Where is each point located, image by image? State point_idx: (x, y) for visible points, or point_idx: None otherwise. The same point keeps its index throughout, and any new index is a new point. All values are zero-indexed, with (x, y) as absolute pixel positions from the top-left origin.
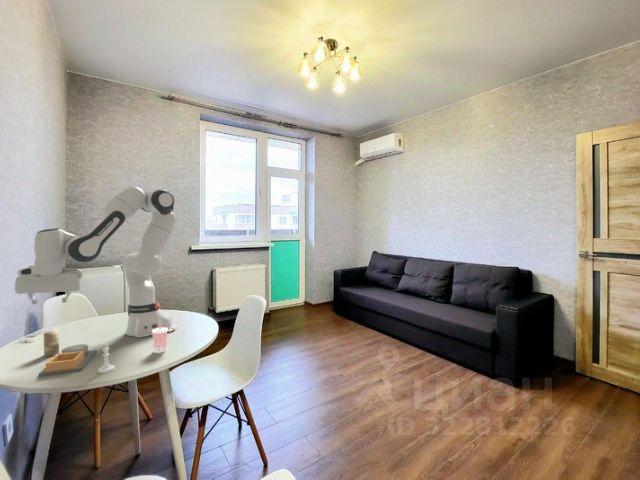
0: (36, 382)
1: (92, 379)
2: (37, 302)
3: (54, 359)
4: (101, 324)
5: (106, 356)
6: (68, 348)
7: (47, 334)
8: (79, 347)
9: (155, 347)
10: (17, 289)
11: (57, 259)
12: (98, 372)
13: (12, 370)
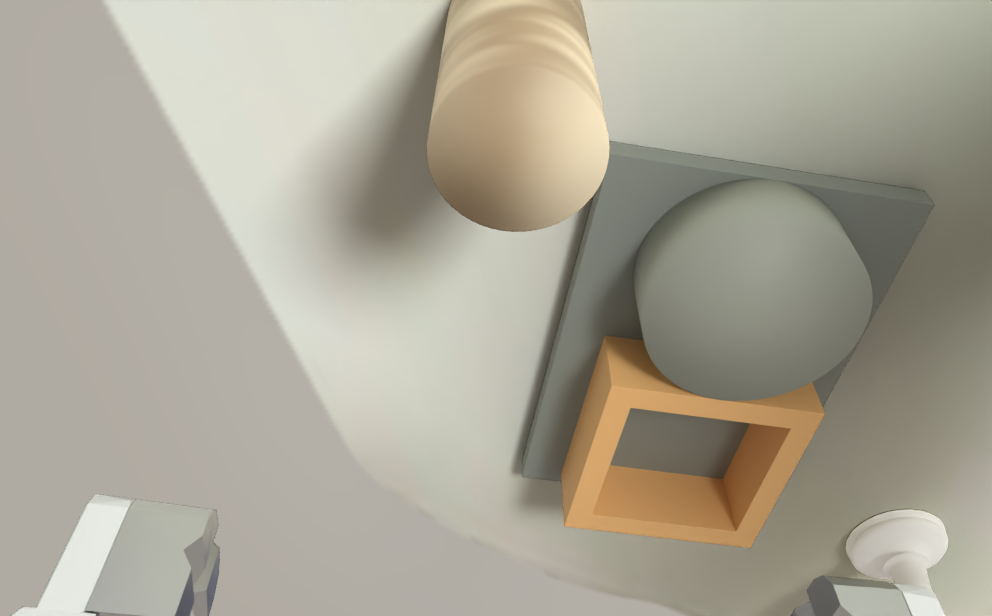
0: (529, 522)
1: (804, 603)
2: (202, 566)
3: (607, 462)
4: None
5: None
6: (700, 294)
7: (487, 220)
8: (795, 315)
9: None
10: None
11: None
12: (848, 555)
13: (299, 279)
